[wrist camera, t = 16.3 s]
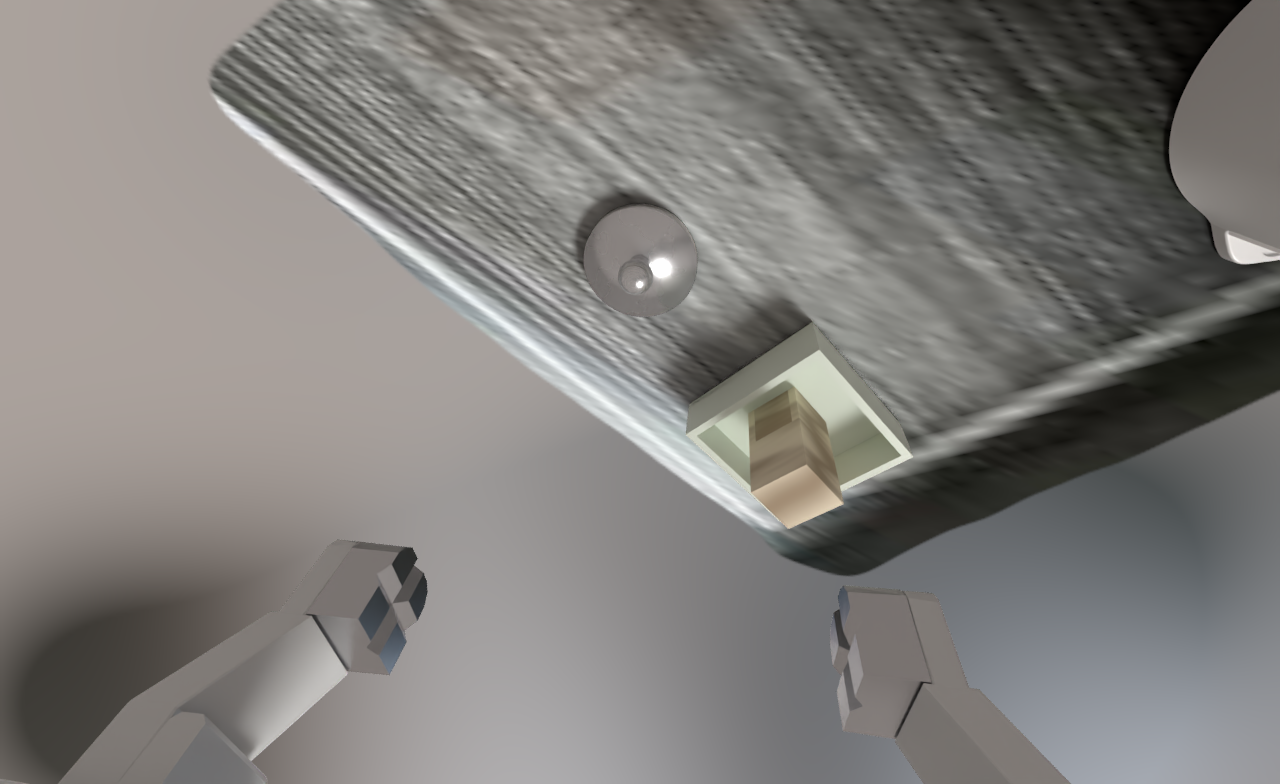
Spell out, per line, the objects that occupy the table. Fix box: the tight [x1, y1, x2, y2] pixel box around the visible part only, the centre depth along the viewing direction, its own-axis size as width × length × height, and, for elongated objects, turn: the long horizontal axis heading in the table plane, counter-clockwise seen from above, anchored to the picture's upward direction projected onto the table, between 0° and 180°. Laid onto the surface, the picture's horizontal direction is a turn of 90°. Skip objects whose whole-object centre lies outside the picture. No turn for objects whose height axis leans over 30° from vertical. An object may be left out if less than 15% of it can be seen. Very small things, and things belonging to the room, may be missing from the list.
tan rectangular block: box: [748, 387, 844, 529], centre depth 41 cm, size 4×4×9 cm
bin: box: [686, 322, 913, 521], centre depth 44 cm, size 12×12×4 cm
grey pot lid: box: [584, 204, 698, 317], centre depth 38 cm, size 8×8×4 cm
